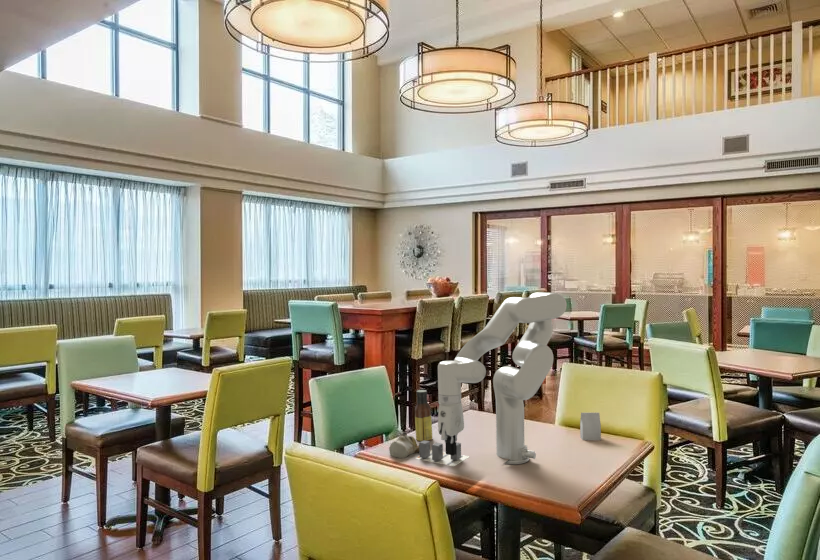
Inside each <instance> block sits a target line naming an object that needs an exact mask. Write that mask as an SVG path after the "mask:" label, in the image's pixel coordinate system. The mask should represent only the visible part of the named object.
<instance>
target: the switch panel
mask: <svg viewBox="0 0 820 560" xmlns="http://www.w3.org/2000/svg"><path fill="white" fill-rule="evenodd" d="M468 458H470V456H469V455H464V454H461V458H460V459H459V460H452V459H451V455H448V454H446V451H443V459H441V460H439V461H435V460H432V449H430V456H429V457H427V458H426V459H425V458H420V457H419V455H418V456H417V457H415V458H414V459H415V460H419V461H426V462H429V463H435V464H440V465H444V466H445V465H446V466H448V467H449V466H450V467H456V466H457V465H458V464H461V462H464V461H466V460H467V459H468Z"/></svg>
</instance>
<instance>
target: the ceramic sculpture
mask: <svg viewBox="0 0 820 560" xmlns="http://www.w3.org/2000/svg"><path fill="white" fill-rule="evenodd" d="M388 449H389V450H388V451H389V455H390V456H391V457H395V458H398V459H399V458H401V459H403V458H407V457H408V456H409V455H412V454H414V453H415V454H416V453H419V445H418V444H417V440H416V437H414V436H413V435H409V434H407V433H406V432H403V433H402V434H400V435H399V436H398V438H397V439H396V441H394V440H393V441H392V442H391V443H390V446H389V448H388Z"/></svg>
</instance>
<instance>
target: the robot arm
mask: <svg viewBox="0 0 820 560" xmlns="http://www.w3.org/2000/svg"><path fill="white" fill-rule="evenodd" d="M567 303H568V302H567V301H566V298H565V296H563V295H562V294H560V293H558V292H548V291H547V292H545V291H536V292H533V293H531V294H529V296H528V297H519V296H511V297H507V298H506V299H504V300H503V302H502V303H501V304H500V306H499V307H498V308H497V310H496V311H495V313H494V314H493V315H492V317H491V318H490V320H489V321H488V322H487V324H486V326H484V328H483V329H482V330H481V331H479V332H478V333H477V334H476V335H475V336H473V337H472V338H471V339H469V340H468V341H467V342H466V343H465V344H463V346H462V348H461V349H460V351H458V352H457V355H456V356H455V358H454V359H453V360H442V361H439V363H438V365H437V389H438V391H437V392H438V393H437V394H438V395H437V397H438V416H437V417H438V418H437V419H438V420H437V426H438V427H437V429H438V435H441V438H440V440H442V441H444V443H445V452H446V454H448V455H455V454H456V442H458V441H457V440H458V434H460V433H461V432H462V431H464V429H465V419H464V416H465V415H464V409H463V403H462V384H463V383H465V384H477V383H479V382H480V383H481V381H483V380H484V379H485V377H486V374H487V370H486V369H487V368H486V366H485V365H484V364H483V363H482V362H481V361H479V359H480V358H481V357H482V356H483V355H485V354H486V353H487V352H489V351H491V350H493V349H494V350H495V349H497V348H499V347H501V346H503V345H505V344H506V342H507V340H509V338H510V336H511V335H512V334H513V332H514V331H515V329H516V328H517V327H518V326H519V323H520V324H521V323H522V324H528V327H527V328H526V330H525V332H524V334H523V335H522V337H521V338H520V339H519V342H518V343H517V345H516V346H515V348H514V349H513V350H512V354H511V355H512V356H511V357H512V361H513V362H514V364H515V365H517V366H519V368H518V367H514V366H509V365H508V366H507V365H506V366H502V367H499V368H498V369H497V370H496V371H495V373H494V374H493V378H492V383H493V385H492V386H493V391H494V396H495V423H496V424H495V427H496V429H495V433H496V434H495V435H496V436H495V439H496V440H495V441H496V443H495V444H496V448H495V449H496V456H497V457H499V458H502V459H505V460H506V459H507V460H506V461H505V462H503V464H505V465H521V464H526V463H527V462H529V461H530V459H533V460H535V459H536V457H537V454H536V451H535V450H529V449H528V445H525V403H524V401H527V400H529V399H531V398H533V397H534V396H535V394H536V393H537V392H538V391H539V389H540V387H541V386H542V384H543V382H544V381H545V379H546V378H547V376H548V375H549V372H550V371H551V369H552V367H553V364H554V354H553V351H552V349H551V348H550V347H549V346H548V344H549V342H550V339H551V338H552V335H553V331H554V327H553V326H554V325H553V324H554V323H553V319H557V318H560V317H561V316H564V314H565V313H566V310H567V307H568V306H567Z"/></svg>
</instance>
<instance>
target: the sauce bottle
mask: <svg viewBox="0 0 820 560" xmlns="http://www.w3.org/2000/svg"><path fill="white" fill-rule="evenodd" d="M416 399H417V401H416V405H415V406H414V423H415V440H416V441H418V442H422V441H424V440H425V441H430V442H431V441H433V423H432V421H433V420H432V411H431V408H432V407H430V405H429V403H428V402H429V401H428V390H426V389H418V390H416Z"/></svg>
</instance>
